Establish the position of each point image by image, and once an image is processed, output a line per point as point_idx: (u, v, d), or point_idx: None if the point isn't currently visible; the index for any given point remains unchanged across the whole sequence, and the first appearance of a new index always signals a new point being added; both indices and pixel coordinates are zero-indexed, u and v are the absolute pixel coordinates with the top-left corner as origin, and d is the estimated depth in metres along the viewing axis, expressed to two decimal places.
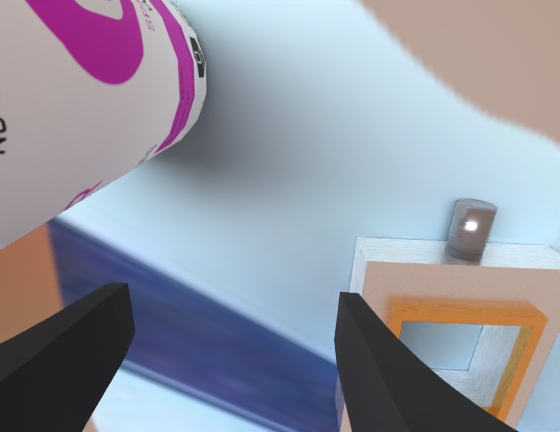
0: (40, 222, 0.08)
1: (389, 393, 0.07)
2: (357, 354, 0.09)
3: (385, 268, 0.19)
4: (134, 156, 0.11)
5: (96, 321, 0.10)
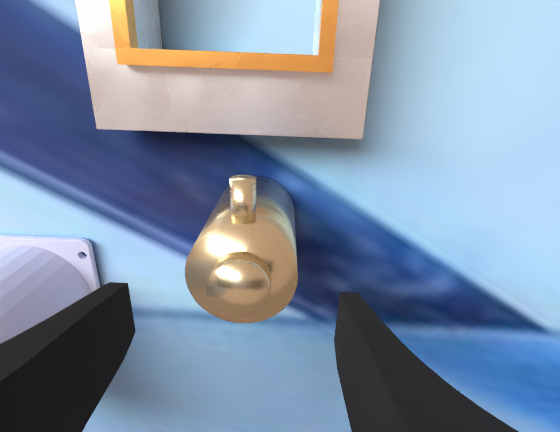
0: None
1: (389, 393, 0.07)
2: (357, 354, 0.09)
3: None
4: None
5: (96, 321, 0.10)
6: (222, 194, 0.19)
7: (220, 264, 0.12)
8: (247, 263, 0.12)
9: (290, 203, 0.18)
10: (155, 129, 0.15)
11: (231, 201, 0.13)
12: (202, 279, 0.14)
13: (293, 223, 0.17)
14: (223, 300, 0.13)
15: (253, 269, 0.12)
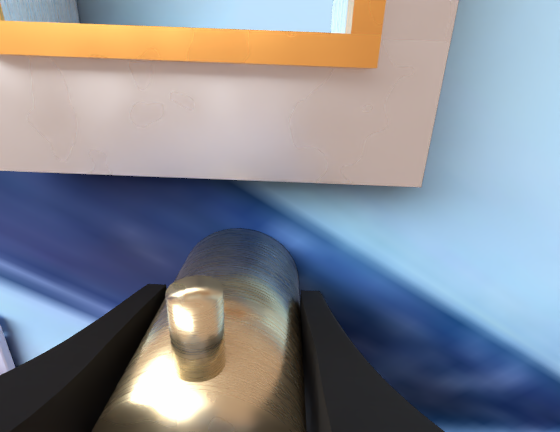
0: None
1: (322, 390, 0.07)
2: (308, 352, 0.09)
3: None
4: None
5: (142, 323, 0.10)
6: (187, 259, 0.12)
7: None
8: None
9: (292, 274, 0.12)
10: (54, 170, 0.09)
11: (171, 337, 0.06)
12: None
13: (298, 320, 0.10)
14: None
15: None
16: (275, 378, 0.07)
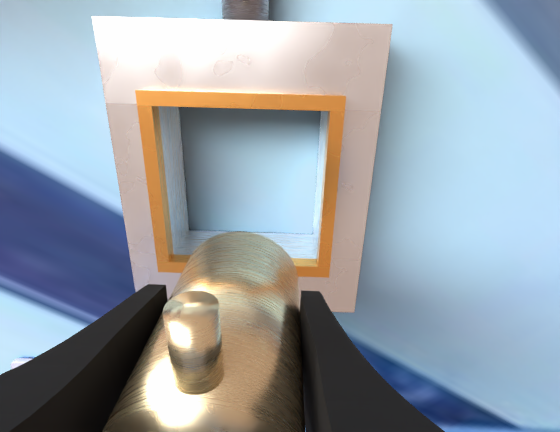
0: None
1: (323, 390, 0.07)
2: (309, 352, 0.09)
3: (120, 27, 0.14)
4: None
5: (141, 323, 0.10)
6: (187, 263, 0.12)
7: None
8: None
9: (292, 276, 0.12)
10: None
11: (169, 353, 0.06)
12: None
13: (297, 323, 0.10)
14: None
15: None
16: (273, 387, 0.07)
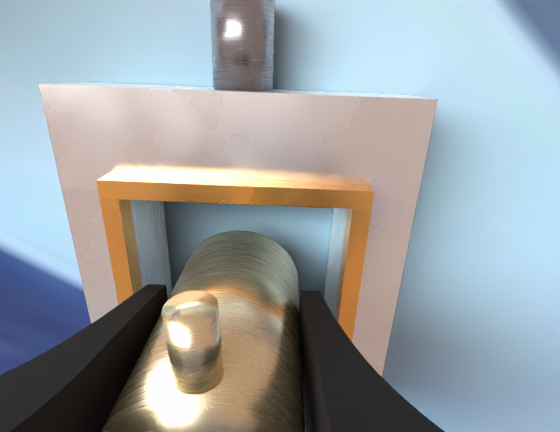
0: None
1: (322, 390, 0.07)
2: (309, 352, 0.09)
3: (77, 99, 0.10)
4: None
5: (142, 323, 0.10)
6: (187, 263, 0.12)
7: None
8: None
9: (291, 276, 0.12)
10: None
11: (169, 353, 0.06)
12: None
13: (297, 322, 0.10)
14: None
15: None
16: (273, 386, 0.07)
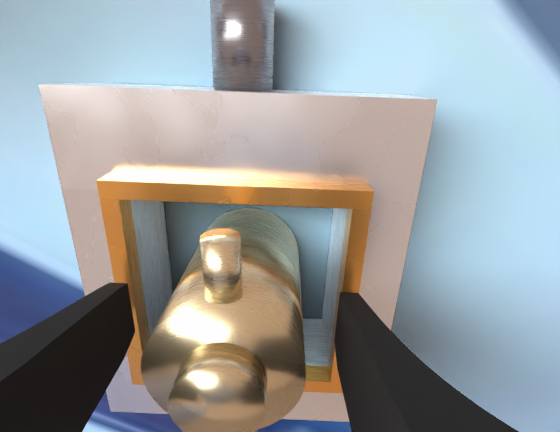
0: None
1: (389, 393, 0.07)
2: (357, 354, 0.09)
3: (77, 99, 0.10)
4: None
5: (96, 321, 0.10)
6: None
7: (189, 370, 0.08)
8: (229, 369, 0.08)
9: (293, 244, 0.14)
10: None
11: (203, 271, 0.08)
12: (167, 379, 0.09)
13: (297, 276, 0.12)
14: (195, 420, 0.08)
15: (238, 380, 0.08)
16: (279, 307, 0.09)
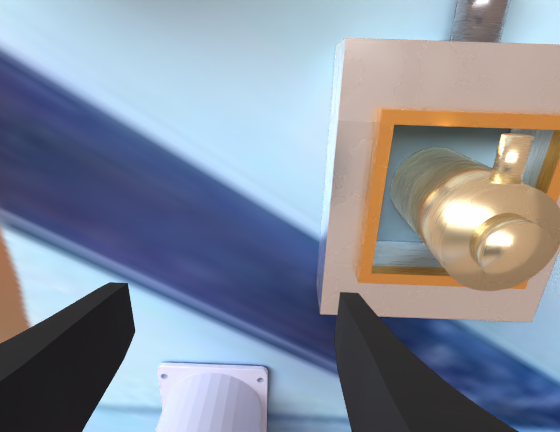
0: None
1: (389, 393, 0.07)
2: (357, 354, 0.09)
3: (371, 49, 0.14)
4: None
5: (96, 321, 0.10)
6: (407, 166, 0.18)
7: (502, 225, 0.12)
8: (533, 223, 0.12)
9: None
10: None
11: (505, 160, 0.12)
12: (460, 244, 0.13)
13: None
14: (499, 263, 0.12)
15: (542, 228, 0.12)
16: None
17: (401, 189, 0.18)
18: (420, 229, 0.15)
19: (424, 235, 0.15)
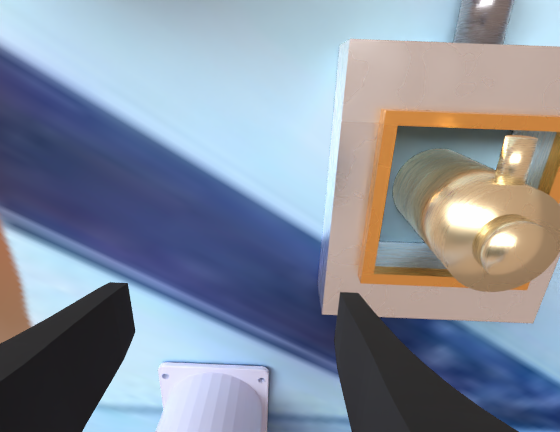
0: None
1: (389, 393, 0.07)
2: (357, 354, 0.09)
3: (375, 50, 0.14)
4: None
5: (96, 320, 0.10)
6: (409, 167, 0.18)
7: (505, 226, 0.12)
8: (536, 224, 0.12)
9: None
10: None
11: (508, 161, 0.12)
12: (462, 245, 0.13)
13: None
14: (502, 264, 0.12)
15: (545, 230, 0.12)
16: None
17: (404, 190, 0.18)
18: (423, 230, 0.15)
19: (427, 236, 0.15)
